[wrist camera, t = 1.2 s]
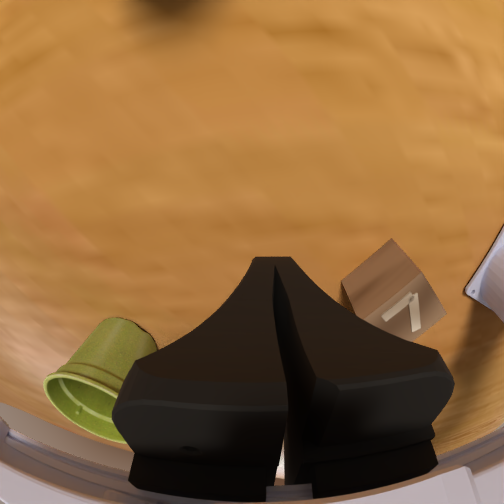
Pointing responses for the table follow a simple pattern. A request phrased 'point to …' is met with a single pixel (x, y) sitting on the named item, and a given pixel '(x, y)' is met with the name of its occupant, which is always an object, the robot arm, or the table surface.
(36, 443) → the robot arm
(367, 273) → the block seven
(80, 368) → the plant pot
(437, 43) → the table surface
